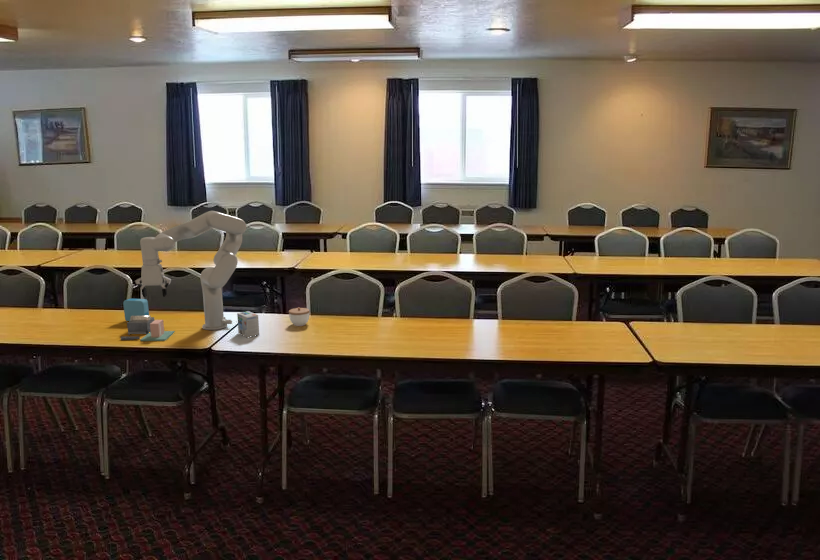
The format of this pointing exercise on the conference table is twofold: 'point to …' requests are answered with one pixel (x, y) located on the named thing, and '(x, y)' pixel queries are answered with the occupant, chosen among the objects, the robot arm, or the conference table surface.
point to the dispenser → (138, 326)
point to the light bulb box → (248, 324)
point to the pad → (161, 338)
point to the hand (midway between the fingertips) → (154, 296)
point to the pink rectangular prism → (157, 328)
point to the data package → (135, 308)
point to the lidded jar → (299, 316)
